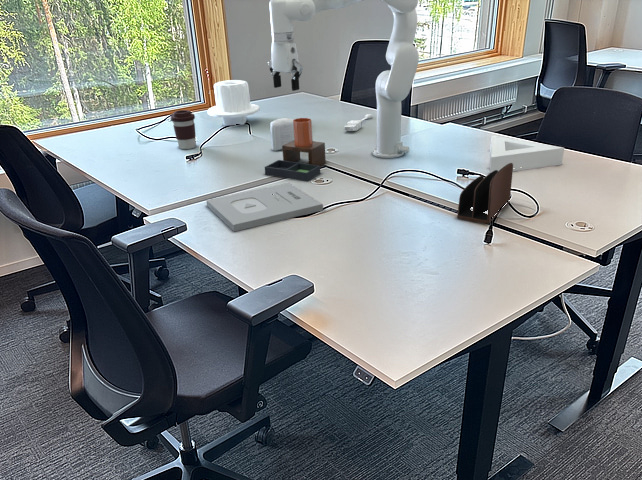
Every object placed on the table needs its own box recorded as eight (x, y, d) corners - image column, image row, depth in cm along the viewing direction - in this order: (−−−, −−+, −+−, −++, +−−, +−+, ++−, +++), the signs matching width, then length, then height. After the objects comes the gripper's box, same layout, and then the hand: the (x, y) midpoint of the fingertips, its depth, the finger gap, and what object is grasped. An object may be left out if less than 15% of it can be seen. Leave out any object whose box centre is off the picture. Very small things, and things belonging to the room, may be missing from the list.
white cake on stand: (257, 128, 276) (253, 87, 267) (205, 130, 277) (199, 88, 267) (263, 116, 298) (260, 77, 288) (215, 117, 298) (209, 78, 289)
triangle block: (561, 164, 217) (564, 147, 213) (528, 183, 200) (530, 165, 197) (489, 150, 235) (491, 134, 231) (454, 166, 218) (455, 149, 215)
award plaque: (323, 210, 184) (322, 203, 183) (234, 231, 172) (233, 224, 171) (289, 188, 203) (288, 182, 202) (207, 206, 191) (206, 199, 190)
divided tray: (320, 173, 216) (320, 165, 214) (307, 181, 209) (306, 173, 207) (279, 167, 224) (278, 159, 222) (265, 174, 217) (264, 166, 215)
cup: (315, 142, 223) (314, 118, 219) (306, 147, 218) (304, 123, 213) (300, 140, 226) (299, 117, 221) (291, 145, 221) (289, 121, 216)
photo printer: (291, 145, 250) (289, 115, 244) (296, 147, 247) (294, 117, 241) (270, 149, 245) (267, 119, 239) (275, 151, 242) (272, 121, 236)
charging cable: (374, 119, 289) (374, 112, 288) (353, 132, 263) (353, 125, 261) (364, 118, 291) (364, 111, 289) (343, 132, 264) (343, 124, 263)
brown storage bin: (325, 163, 227) (324, 142, 223) (312, 170, 219) (311, 149, 215) (297, 159, 233) (296, 139, 228) (283, 166, 225) (282, 145, 221)
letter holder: (509, 203, 185) (515, 159, 178) (488, 225, 171) (493, 178, 164) (479, 197, 190) (483, 155, 183) (456, 218, 175) (460, 173, 168)
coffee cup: (171, 149, 250) (164, 113, 242) (184, 143, 258) (178, 108, 250) (190, 151, 247) (184, 115, 239) (203, 144, 254) (198, 109, 247)
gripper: (307, 37, 201) (310, 89, 210) (274, 35, 211) (278, 84, 220) (291, 40, 196) (295, 93, 205) (258, 37, 207) (263, 87, 216)
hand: (286, 88), depth 213 cm, fingers open, 9 cm apart
